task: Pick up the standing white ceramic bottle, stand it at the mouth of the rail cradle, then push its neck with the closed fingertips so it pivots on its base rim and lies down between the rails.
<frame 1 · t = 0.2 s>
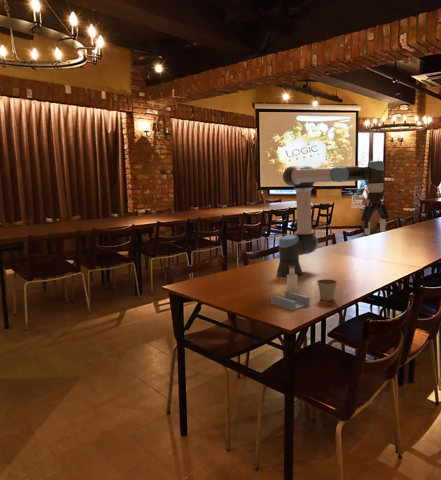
hand: (375, 233, 203), 28 cm above the table, fingers open, 13 cm apart
flower pot: (327, 299, 188), on the table
cradle: (290, 304, 183), on the table
bottle: (292, 294, 198), on the table
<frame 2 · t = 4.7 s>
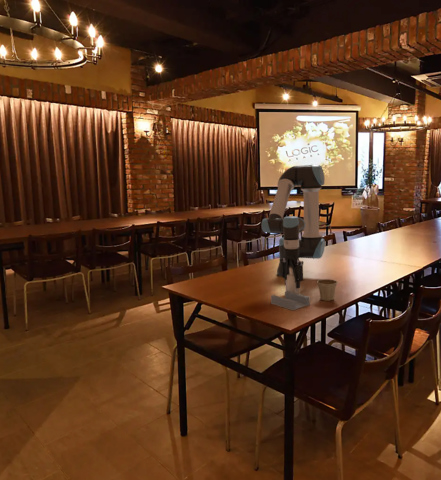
hand: (292, 292, 198), 1 cm above the table, fingers closed on bottle, 5 cm apart
bottle: (292, 294, 198), on the table, touching gripper
everything else where it was.
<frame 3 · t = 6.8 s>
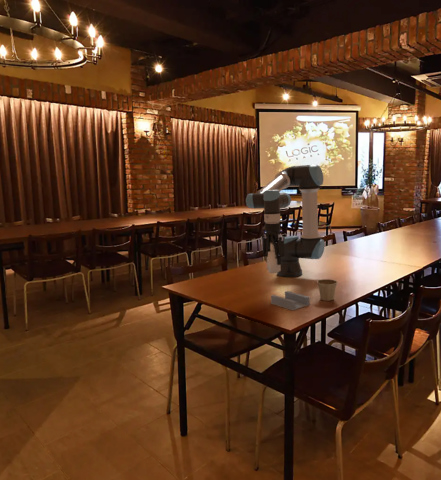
hand: (273, 270, 190), 15 cm above the table, fingers closed on bottle, 5 cm apart
bottle: (273, 271, 190), point 14 cm above the table, touching gripper
everything else where it was.
when the fingers open (2 cm above the table, at t = 9.4 s): bottle stays where it is, on the table.
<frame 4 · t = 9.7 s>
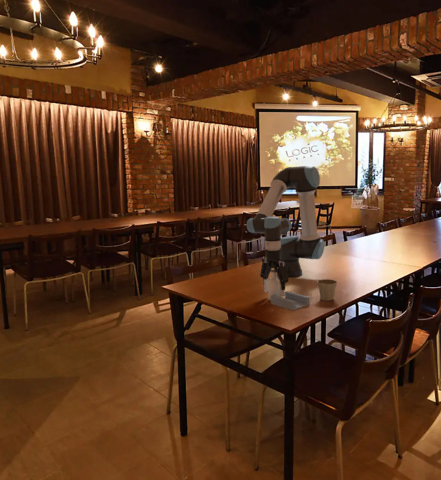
hand: (274, 293, 191), 3 cm above the table, fingers open, 10 cm apart
bottle: (274, 299, 192), on the table
everything else where it was.
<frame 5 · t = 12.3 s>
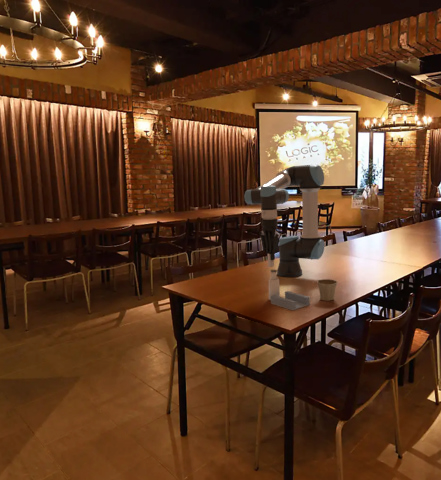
hand: (270, 266, 191), 16 cm above the table, fingers closed
nothing on the table moved.
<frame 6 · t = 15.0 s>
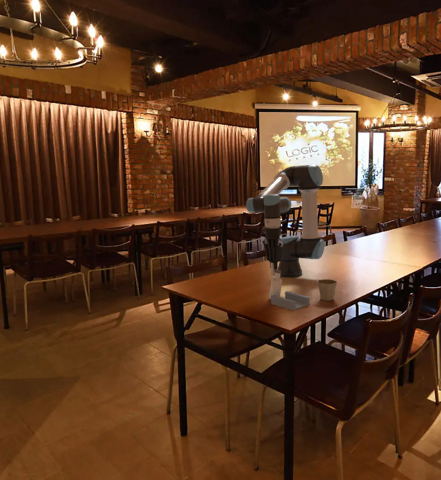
hand: (274, 275, 190), 12 cm above the table, fingers closed
bottle: (274, 298, 192), point 1 cm above the table, tilted 12°
everything else where it was.
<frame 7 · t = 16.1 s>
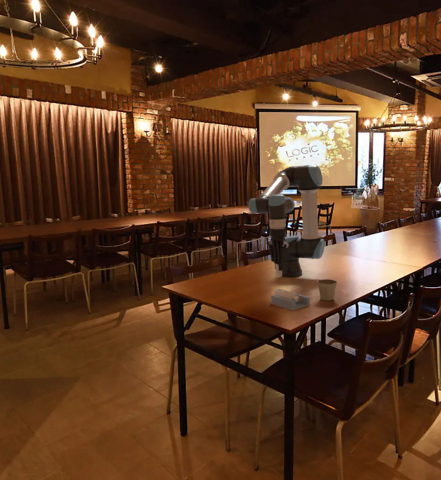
hand: (278, 276, 187), 12 cm above the table, fingers closed
bottle: (277, 293, 190), point 3 cm above the table, tilted 90°, touching cradle
everything else where it was.
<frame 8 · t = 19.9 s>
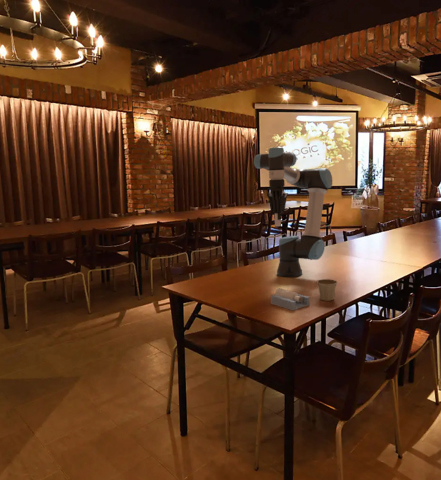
hand: (278, 226, 199), 34 cm above the table, fingers closed
nothing on the table moved.
at the end: bottle tilted 90°; bottle inside the target area (4.3 cm from its centre), point 3.2 cm above the table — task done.
